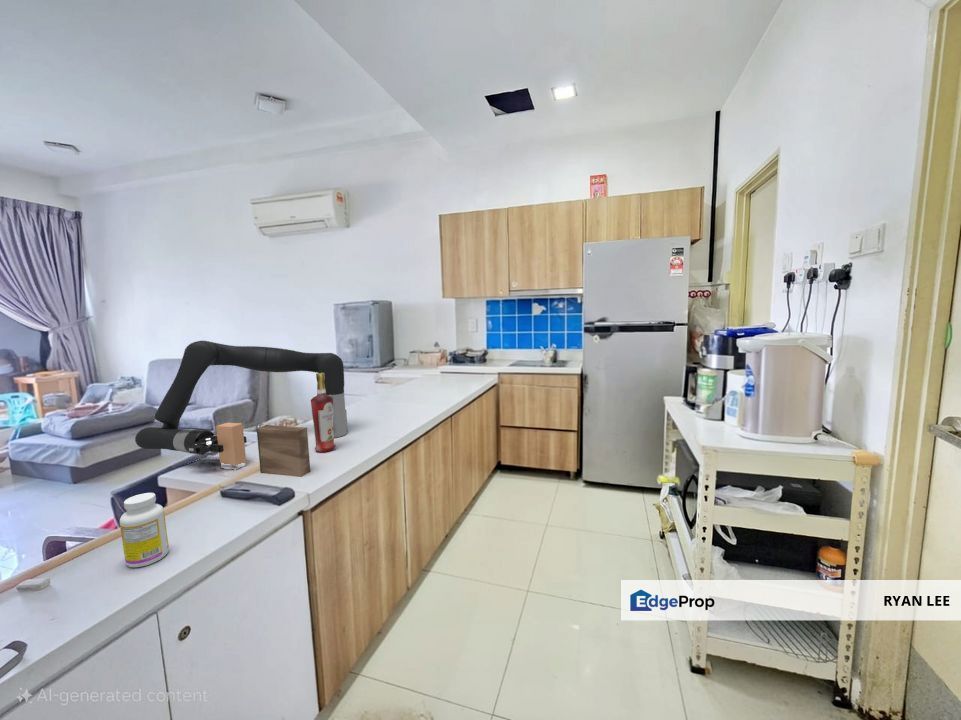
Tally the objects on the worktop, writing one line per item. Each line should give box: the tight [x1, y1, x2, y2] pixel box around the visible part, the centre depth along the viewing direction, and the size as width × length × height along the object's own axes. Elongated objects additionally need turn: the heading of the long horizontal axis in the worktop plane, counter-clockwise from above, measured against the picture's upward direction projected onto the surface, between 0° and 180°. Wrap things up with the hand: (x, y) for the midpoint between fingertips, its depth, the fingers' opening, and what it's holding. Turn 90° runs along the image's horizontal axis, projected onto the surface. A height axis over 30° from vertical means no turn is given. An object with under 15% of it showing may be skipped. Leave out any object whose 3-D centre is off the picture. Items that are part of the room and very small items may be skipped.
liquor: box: [310, 373, 336, 453], centre depth 136 cm, size 7×7×28 cm
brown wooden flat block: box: [256, 424, 311, 478], centre depth 118 cm, size 4×15×14 cm, turn 76°
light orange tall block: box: [215, 422, 247, 466], centre depth 123 cm, size 4×6×14 cm, turn 76°
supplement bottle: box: [119, 492, 170, 568], centre depth 77 cm, size 7×7×13 cm
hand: (234, 444), depth 122 cm, fingers open, 8 cm apart
